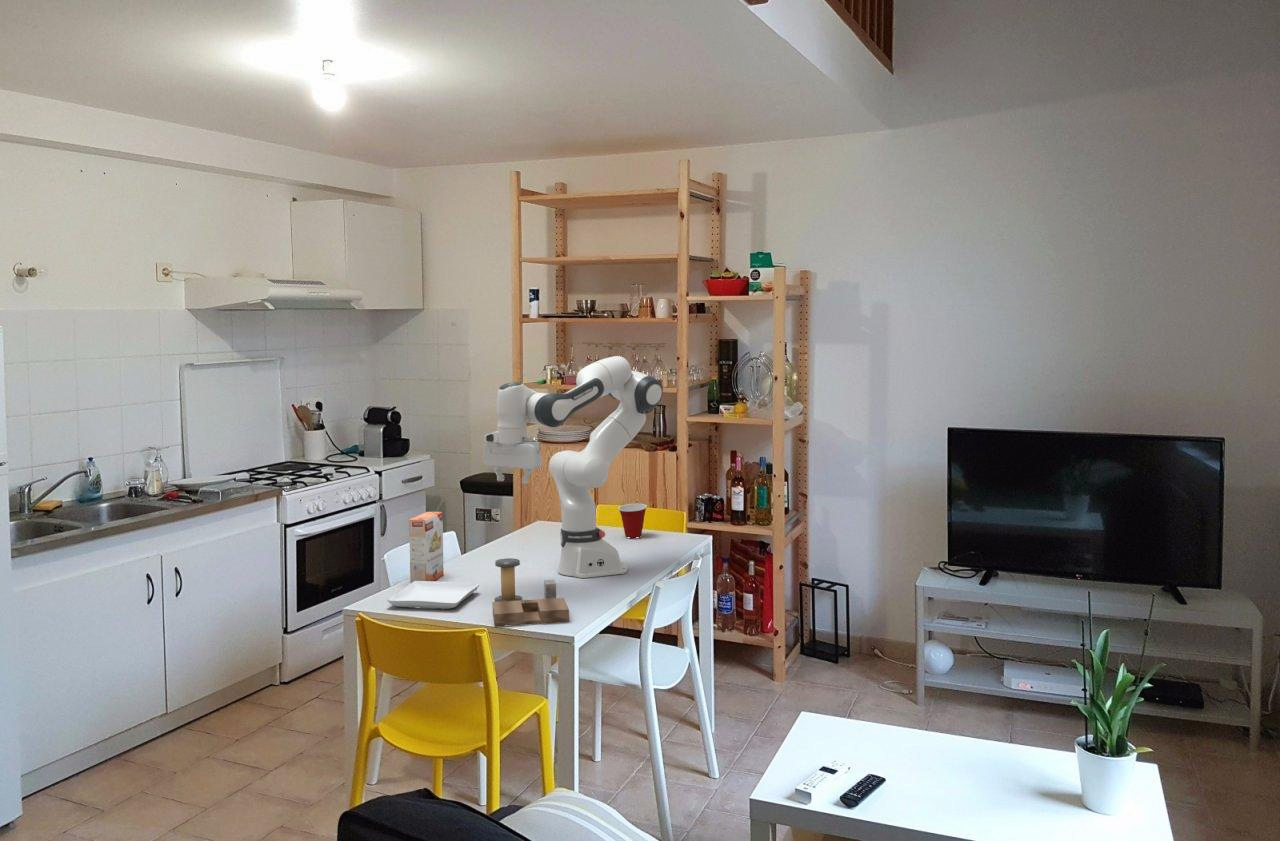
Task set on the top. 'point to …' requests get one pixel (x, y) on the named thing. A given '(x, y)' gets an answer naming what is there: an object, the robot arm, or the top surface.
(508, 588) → the bobbin
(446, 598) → the salad plate
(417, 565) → the cracker box
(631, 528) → the plastic cup
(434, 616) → the top surface
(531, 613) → the notched board
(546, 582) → the steel tab
